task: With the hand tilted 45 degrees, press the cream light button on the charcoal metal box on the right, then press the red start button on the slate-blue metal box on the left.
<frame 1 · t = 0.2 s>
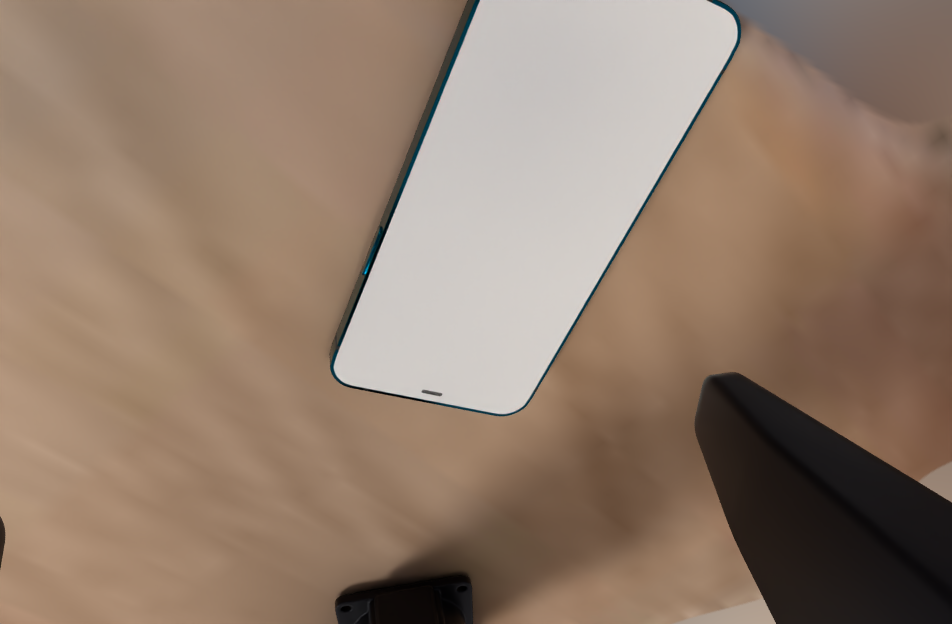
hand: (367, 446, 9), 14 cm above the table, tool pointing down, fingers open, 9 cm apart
smartphone: (510, 203, 24), on the table
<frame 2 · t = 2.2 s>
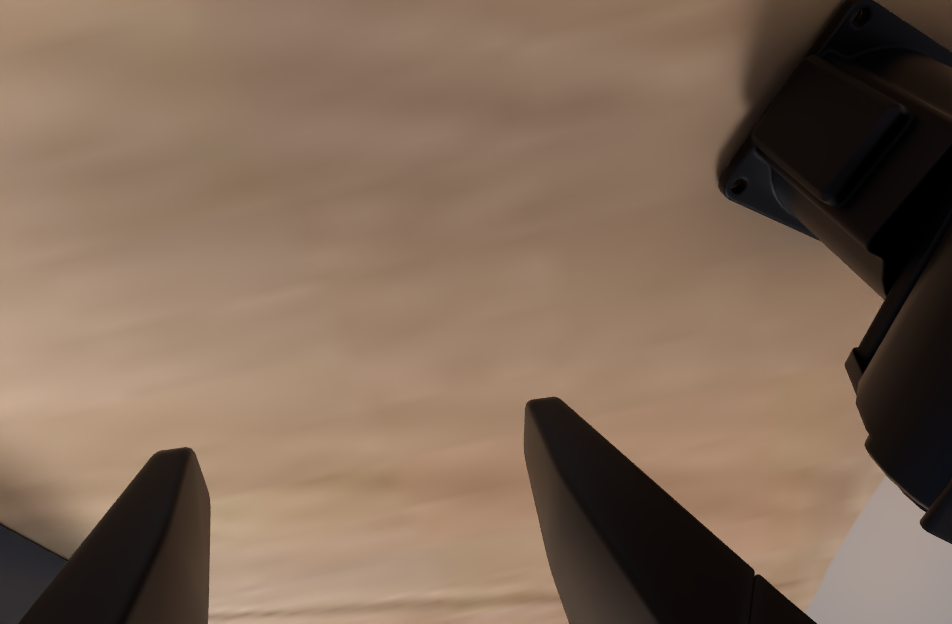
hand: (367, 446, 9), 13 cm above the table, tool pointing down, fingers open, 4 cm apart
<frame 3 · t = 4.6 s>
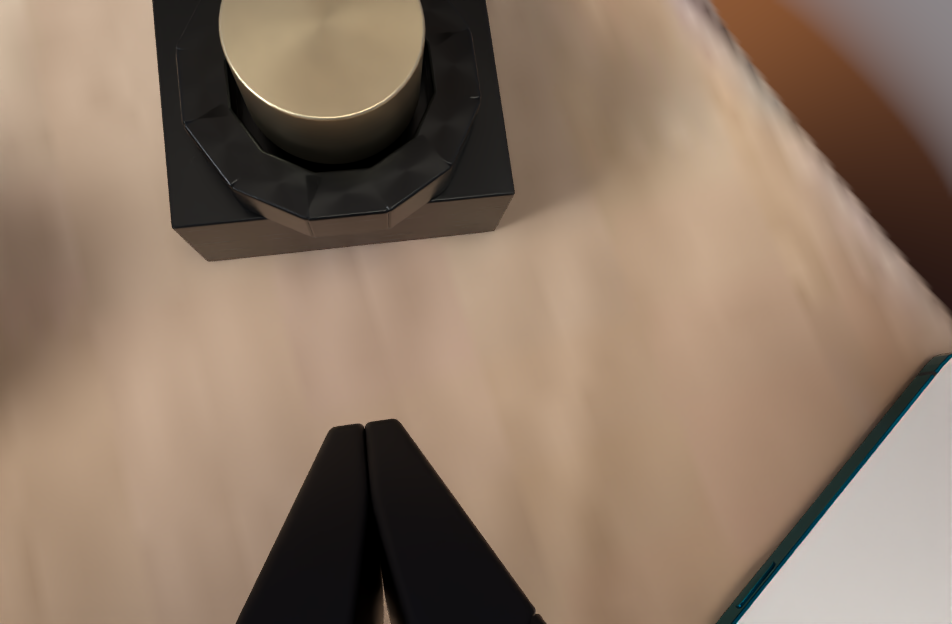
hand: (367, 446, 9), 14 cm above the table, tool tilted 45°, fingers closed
light box: (335, 82, 24), on the table
smartphone: (884, 603, 24), on the table
light button: (328, 54, 17), point 7 cm above the table, slide at 0.1 cm
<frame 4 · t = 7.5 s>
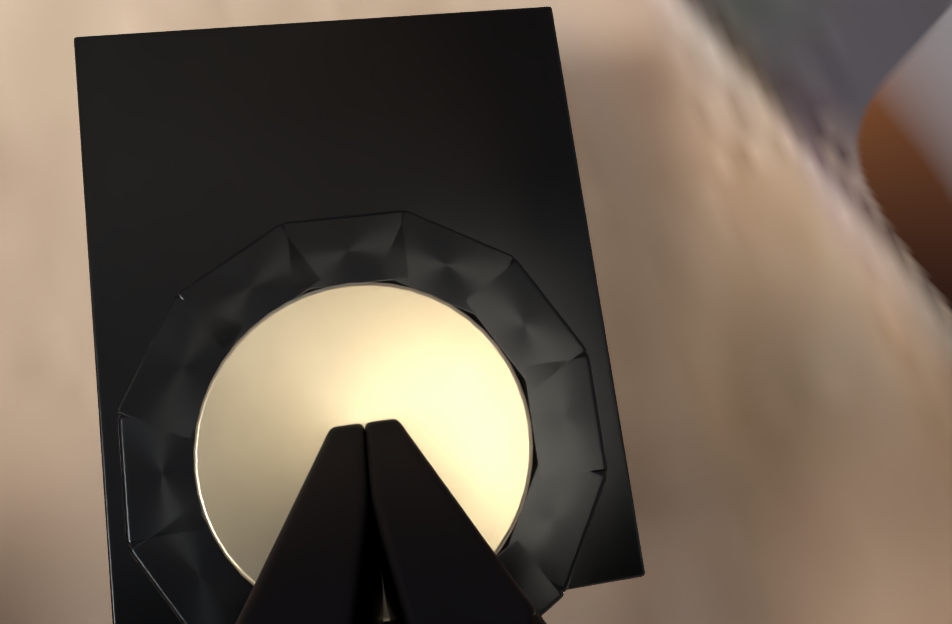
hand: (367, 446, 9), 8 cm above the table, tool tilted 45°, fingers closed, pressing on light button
light box: (362, 331, 17), on the table
light button: (370, 444, 11), point 6 cm above the table, slide at -0.5 cm, touching gripper
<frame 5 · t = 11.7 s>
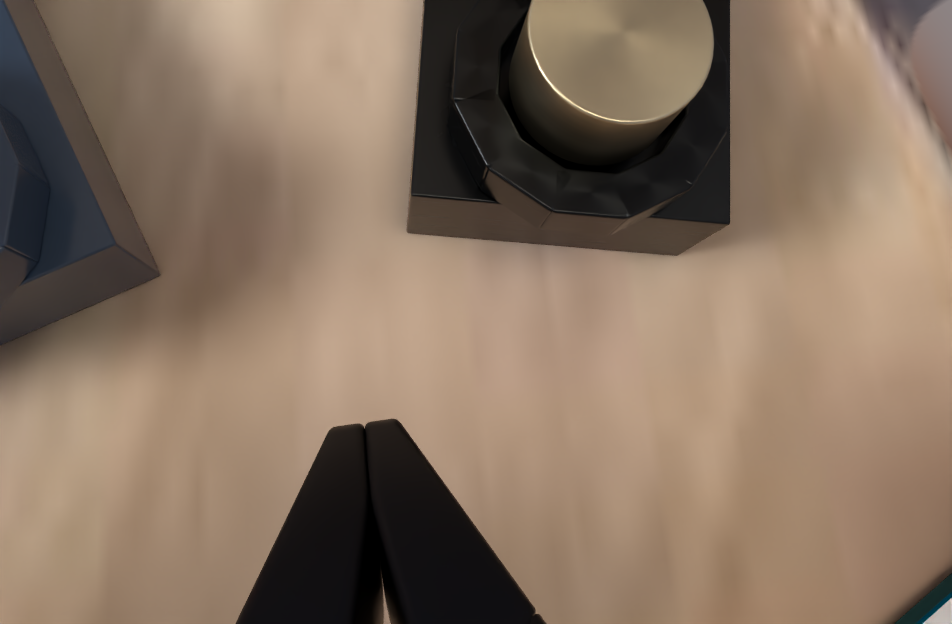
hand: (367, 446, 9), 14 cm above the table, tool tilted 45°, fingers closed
light box: (551, 87, 25), on the table
light button: (605, 61, 18), point 7 cm above the table, slide at 0.1 cm
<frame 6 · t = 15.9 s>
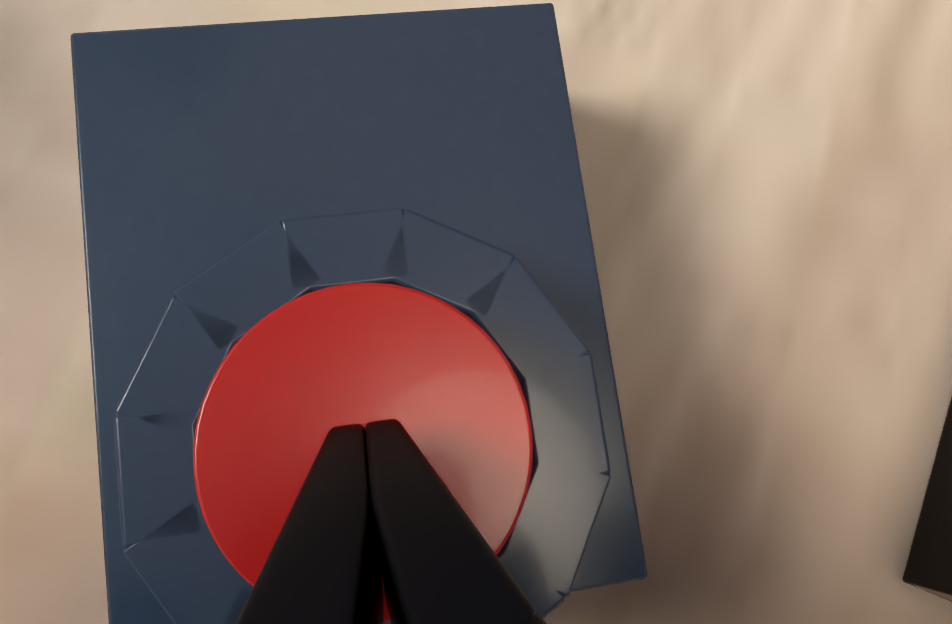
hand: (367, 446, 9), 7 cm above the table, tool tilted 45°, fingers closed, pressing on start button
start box: (362, 331, 17), on the table
start button: (369, 445, 11), point 6 cm above the table, slide at -0.7 cm, touching gripper
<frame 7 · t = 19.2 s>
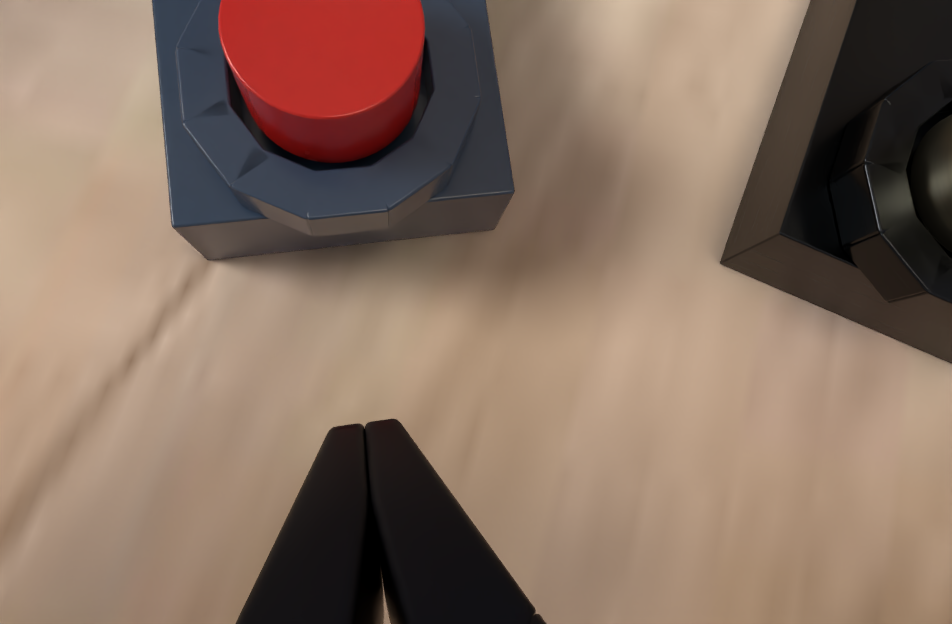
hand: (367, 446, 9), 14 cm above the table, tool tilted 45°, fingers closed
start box: (335, 80, 24), on the table
light box: (884, 172, 26), on the table
start button: (328, 53, 17), point 7 cm above the table, slide at 0.1 cm
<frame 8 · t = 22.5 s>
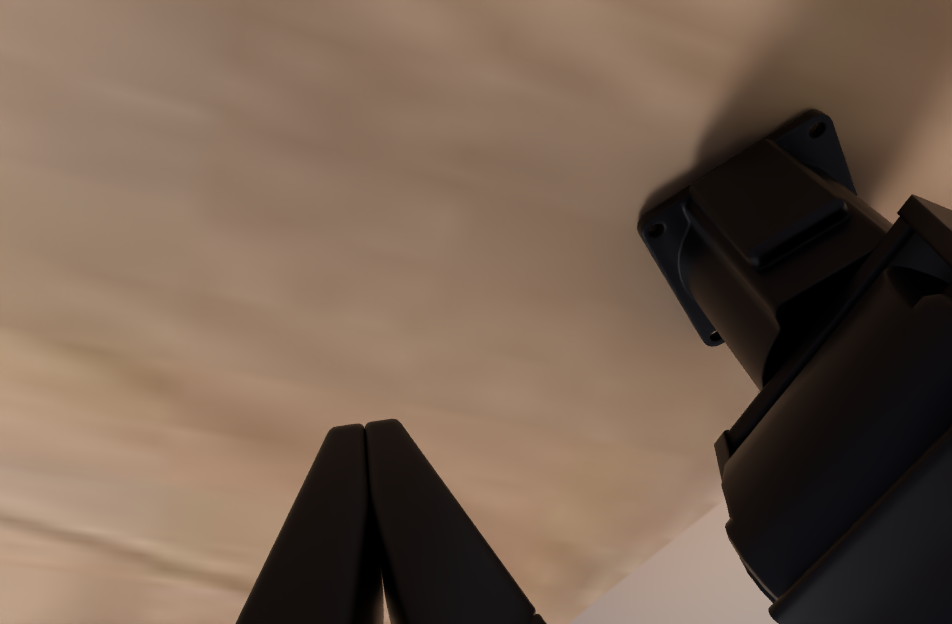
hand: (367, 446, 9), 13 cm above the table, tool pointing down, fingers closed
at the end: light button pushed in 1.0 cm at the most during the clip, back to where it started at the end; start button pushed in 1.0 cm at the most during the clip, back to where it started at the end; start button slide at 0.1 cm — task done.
